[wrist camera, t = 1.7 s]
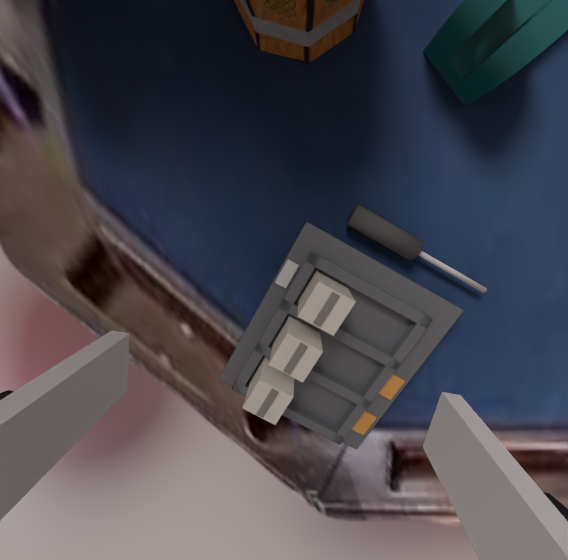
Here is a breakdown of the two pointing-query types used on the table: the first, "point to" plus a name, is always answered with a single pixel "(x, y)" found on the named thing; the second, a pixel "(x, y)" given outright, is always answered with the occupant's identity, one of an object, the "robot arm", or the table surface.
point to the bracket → (493, 42)
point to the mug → (299, 25)
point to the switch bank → (346, 337)
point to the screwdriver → (398, 240)
